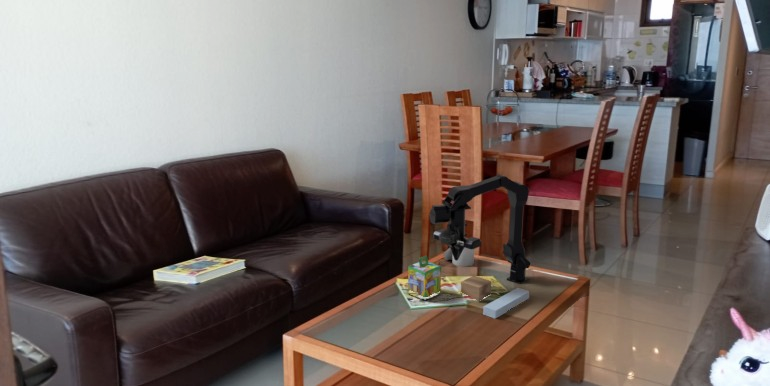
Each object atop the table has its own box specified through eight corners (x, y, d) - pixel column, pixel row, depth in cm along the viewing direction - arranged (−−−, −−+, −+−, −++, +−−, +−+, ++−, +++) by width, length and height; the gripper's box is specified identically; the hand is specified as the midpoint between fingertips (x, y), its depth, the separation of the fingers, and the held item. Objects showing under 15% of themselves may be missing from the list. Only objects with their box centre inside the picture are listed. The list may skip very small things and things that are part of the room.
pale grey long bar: (517, 295, 236) (517, 287, 235) (528, 299, 233) (529, 291, 232) (483, 314, 221) (483, 306, 220) (495, 318, 217) (495, 310, 217)
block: (473, 290, 241) (473, 275, 240) (490, 296, 236) (491, 281, 234) (460, 296, 235) (461, 281, 234) (478, 302, 230) (479, 287, 229)
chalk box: (425, 301, 231) (425, 264, 227) (407, 294, 237) (407, 257, 233) (441, 294, 237) (442, 257, 233) (423, 287, 244) (423, 251, 240)
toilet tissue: (441, 260, 272) (441, 241, 270) (470, 258, 274) (471, 239, 272) (446, 267, 263) (446, 248, 261) (477, 265, 265) (477, 246, 263)
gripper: (424, 220, 236) (423, 259, 240) (464, 231, 223) (463, 272, 227) (442, 214, 243) (442, 252, 247) (482, 224, 231) (481, 264, 235)
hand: (456, 260), depth 239 cm, fingers closed
